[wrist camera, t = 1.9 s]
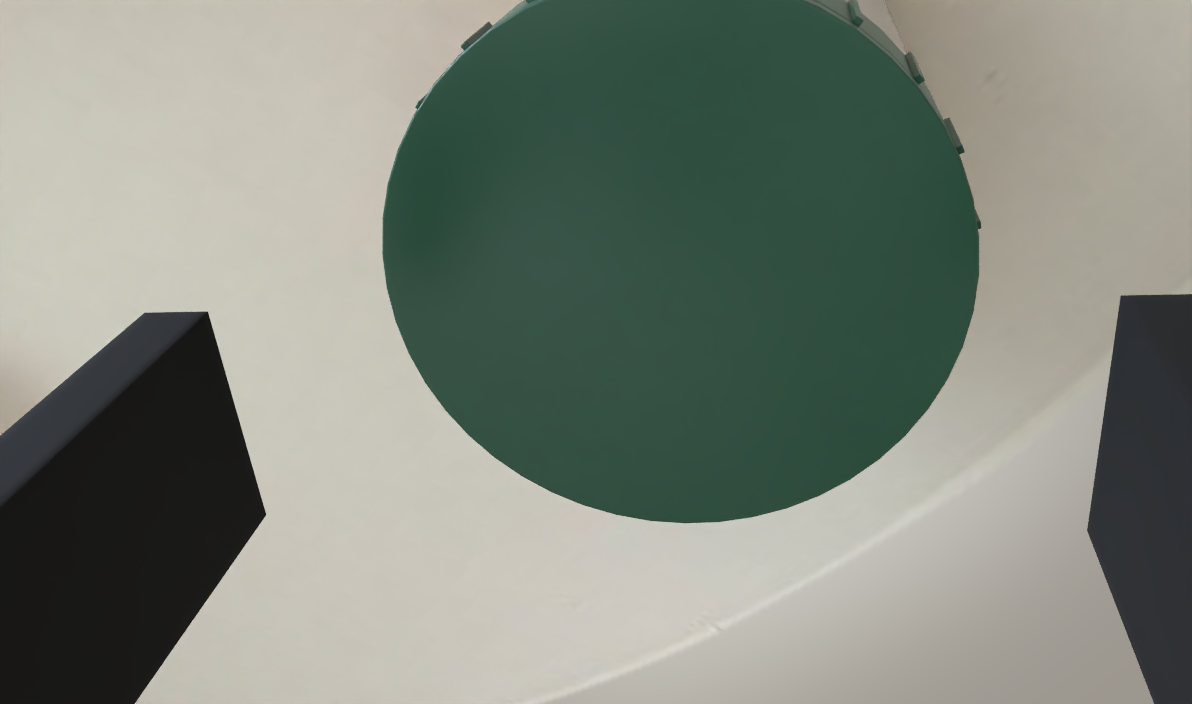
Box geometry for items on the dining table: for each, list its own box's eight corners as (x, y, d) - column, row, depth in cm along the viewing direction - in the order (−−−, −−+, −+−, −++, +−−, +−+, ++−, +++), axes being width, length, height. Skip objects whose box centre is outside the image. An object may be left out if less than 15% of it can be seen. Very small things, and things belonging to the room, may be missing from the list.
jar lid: (785, 536, 19) (785, 605, 17) (348, 328, 18) (306, 381, 17) (1086, 117, 15) (1121, 158, 13) (538, -167, 14) (508, -159, 13)
